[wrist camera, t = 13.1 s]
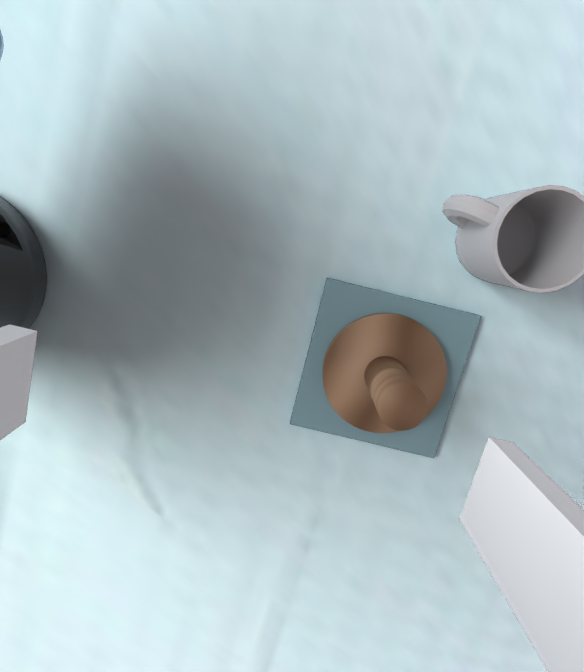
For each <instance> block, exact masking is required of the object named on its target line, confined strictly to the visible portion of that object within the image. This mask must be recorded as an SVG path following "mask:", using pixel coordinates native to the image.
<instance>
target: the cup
mask: <svg viewBox="0 0 584 672" xmlns="http://www.w3.org/2000/svg"><path fill="white" fill-rule="evenodd" d="M443 213H444V215H445V216H446V217H447V218H448V220H450V221H451V222H452V223H453V224H455V225H457V226H458V229H457V233H456V239H455V245H456V253H457V255H458V258H459V260H460V263H461V264H462V265H463V266H464V268H465V269H466V270H467V271H468V272H469V273H471V274H472V275H473V276H475V277H477V278H480V279H482V280H485V281H488V282H492V283H496V284H500V285H505V286H509V287H513V288H517V289H521V290H526V291H530V292H541V293H545V292H551V291H556V290H559V289H561V288H564V287H566V286H568V285H570V284H572V283H573V282H574V281H576V280H577V279H578V278H580V277H581V276H582V275H583V274H584V196H583V195H581V194H580V193H579V192H577V191H575V190H573V189H570V188H567V187H565V186H555V185H547V186H542V187H537V188H532V189H527V190H523V191H518V192H514V193H509V194H504V195H500V196H495V197H491V198H488V199H486V200H485V199H482V198H479V197H476V196H470V195H453V196H451V197H450V198H448V199H447V200H446V201H445V202H444V204H443Z"/></svg>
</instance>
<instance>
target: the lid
mask: <svg viewBox="0 0 584 672" xmlns="http://www.w3.org/2000/svg"><path fill="white" fill-rule="evenodd" d="M322 375H323V385H324V389H325V393H326V396H327V398H328V400H329V402H330V404H331V406H332V407H333V409H334V410H335V411H336V413H337V414H338V415H339V416H340V417H341V418H342V419H344V420H345V421H346V422H348V423H349V424H351V425H353V426H354V427H357V428H359V429H361V430H364V431H368V432H373V433H393V432H398V431H405V430H410V429H412V428H415V427H416V426H418V425H419V424H420V423H421V422H422V421H423V420H424V418H425V417H427V416H428V415H429V414H430V413H431V412H432V411H433V409H434V408H435V407H436V405H437V404H438V402H439V400H440V399H441V397H442V394H443V392H444V389H445V385H446V379H447V365H446V359H445V356H444V353H443V350H442V348H441V346H440V344H439V343H438V341H437V340H436V338H435V337H434V336H433V335H432V333H431V332H430V331H429V330H427V329H426V328H425V327H424V326H422V325H421V324H420V323H418V322H416V321H415V320H413V319H411V318H409V317H406V316H403V315H400V314H394V313H376V314H371V315H367V316H364V317H361V318H359V319H357V320H355V321H353V322H351V323H350V324H348V325H347V326H345V327H344V328H343V329H342V330H341V331H340V332H339V333H338V334H337V335H336V336H335V338H334V339H333V341H332V342H331V344H330V345H329V347H328V350H327V352H326V355H325V358H324V362H323V372H322Z"/></svg>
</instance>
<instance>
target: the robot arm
mask: <svg viewBox="0 0 584 672" xmlns="http://www.w3.org/2000/svg"><path fill="white" fill-rule="evenodd" d="M3 46H4V44H3V37H2V33H1V30H0V60H1V57H2V54H3ZM45 291H46V267H45V261H44V257H43V253H42V250H41V247H40V244H39V242H38V240H37V238H36V236H35V234H34V232H33V230H32V229H31V227H30V226H29V224H28V223H27V221H26V220H25V219H24V218H23V216H22V215H21V214H20V213H19V212H18V211H17V210H16V209H15V208H14V207H13V206H12V205H10V204H9V203H8V202H7V201H5V200H4V199H2V198H1V197H0V440H1V439H3V438H4V437H6V436H7V435H8V434H10V433H11V432H12V431H14V430H15V429H16V428H18V427H19V426H21V425H22V424H23V423H25V422H26V415H27V407H28V399H29V392H30V384H31V377H32V369H33V362H34V354H35V347H36V339H37V332H38V331H35V330H31V329H28V328H29V327H30V325H31V324H32V323H33V321H34V320H35V318H36V317H37V315H38V313H39V311H40V309H41V306H42V303H43V300H44V296H45ZM459 520H460V522H461V523H462V525H463V527H464V529H465V530H466V532H467V534H468V535H469V537H470V539H471V541H472V542H473V544H474V546H475V547H476V549H477V551H478V553H479V554H480V556H481V558H482V560H483V561H484V563H485V565H486V566H487V568H488V570H489V572H490V573H491V575H492V577H493V578H494V580H495V582H496V584H497V585H498V587H499V589H500V591H501V592H502V594H503V596H504V597H505V599H506V601H507V603H508V604H509V606H510V608H511V609H512V611H513V613H514V615H515V616H516V618H517V620H518V621H519V623H520V625H521V627H522V628H523V630H524V632H525V634H526V635H527V637H528V639H529V640H530V642H531V644H532V646H533V647H534V649H535V651H536V652H537V654H538V656H539V658H540V659H541V661H542V663H543V665H544V666H545V668H546V670H547V671H548V672H584V510H583V509H582V508H581V507H580V506H579V505H578V504H577V503H576V502H575V501H574V500H573V499H572V498H571V497H570V496H569V495H568V494H566V493H565V492H564V491H563V490H562V489H561V488H560V487H559V486H558V485H557V484H556V483H555V482H554V481H553V480H552V479H551V478H550V477H549V476H548V475H547V474H546V473H545V472H544V471H542V470H541V469H540V468H539V467H538V466H537V465H536V464H535V463H534V462H533V461H532V460H531V459H530V458H529V457H528V456H527V455H526V454H525V453H524V452H523V451H522V450H521V449H520V448H518V447H517V446H516V445H515V444H514V443H512V442H508V441H504V440H499V439H495V438H491V437H489V438H488V441H487V443H486V446H485V449H484V452H483V454H482V457H481V460H480V462H479V465H478V468H477V471H476V473H475V476H474V479H473V481H472V484H471V487H470V490H469V492H468V495H467V498H466V500H465V503H464V506H463V509H462V511H461V514H460V517H459Z"/></svg>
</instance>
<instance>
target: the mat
mask: <svg viewBox="0 0 584 672" xmlns="http://www.w3.org/2000/svg"><path fill="white" fill-rule="evenodd" d="M376 313H394V314H400V315H403V316H406V317H409V318H411V319H413V320H415V321H416V322H418V323H420V324H421V325H422V326H424V327H425V328H426V329H427V330H429V331H430V332H431V333H432V335H433V336H434V337H435V338H436V340H437V341H438V343H439V344H440V346H441V348H442V350H443V353H444V356H445V359H446V365H447V379H446V385H445V389H444V392H443V394H442V397H441V399H440V400H439V402H438V404H437V405H436V407H435V408H434V409H433V411H432V412H431V413H430V414H429V415H428V416H427V417H425V418H424V420H423V421H422V422H421V423H420V424H419V425H418V426H416V427H415V428H412V429H410V430H405V431H398V432H393V433H373V432H368V431H364V430H361V429H359V428H357V427H354V426H353V425H351V424H349V423H348V422H346V421H345V420H344V419H342V418H341V417H340V416H339V415H338V414H337V413H336V411H335V410H334V409H333V407H332V406H331V404H330V402H329V400H328V398H327V396H326V393H325V389H324V385H323V375H322V372H323V362H324V358H325V355H326V352H327V350H328V347H329V345H330V344H331V342H332V341H333V339H334V338H335V336H336V335H337V334H338V333H339V332H340V331H341V330H342V329H343V328H344V327H345V326H347V325H348V324H350V323H351V322H353V321H355V320H357V319H359V318H361V317H364V316H367V315H371V314H376ZM480 317H481V316H480V315H476V314H472V313H468V312H464V311H460V310H456V309H452V308H448V307H444V306H440V305H435V304H431V303H427V302H423V301H419V300H415V299H411V298H407V297H403V296H399V295H395V294H391V293H387V292H382V291H378V290H374V289H370V288H366V287H362V286H358V285H354V284H350V283H346V282H342V281H338V280H333V279H329V278H327V280H326V284H325V288H324V292H323V295H322V299H321V303H320V307H319V311H318V315H317V319H316V323H315V327H314V331H313V335H312V338H311V342H310V346H309V350H308V354H307V358H306V362H305V366H304V370H303V374H302V378H301V381H300V385H299V389H298V393H297V397H296V401H295V405H294V409H293V413H292V417H291V421H290V424H292V425H296V426H301V427H305V428H309V429H313V430H317V431H322V432H326V433H330V434H334V435H339V436H343V437H347V438H351V439H355V440H360V441H364V442H368V443H372V444H376V445H381V446H385V447H389V448H393V449H397V450H402V451H406V452H410V453H414V454H419V455H423V456H427V457H431V458H434V457H435V454H436V451H437V448H438V445H439V442H440V438H441V435H442V432H443V429H444V426H445V423H446V420H447V417H448V414H449V411H450V408H451V405H452V402H453V399H454V396H455V393H456V390H457V387H458V384H459V381H460V378H461V375H462V372H463V369H464V366H465V363H466V360H467V357H468V354H469V351H470V347H471V344H472V341H473V338H474V335H475V332H476V329H477V326H478V323H479V320H480Z"/></svg>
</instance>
